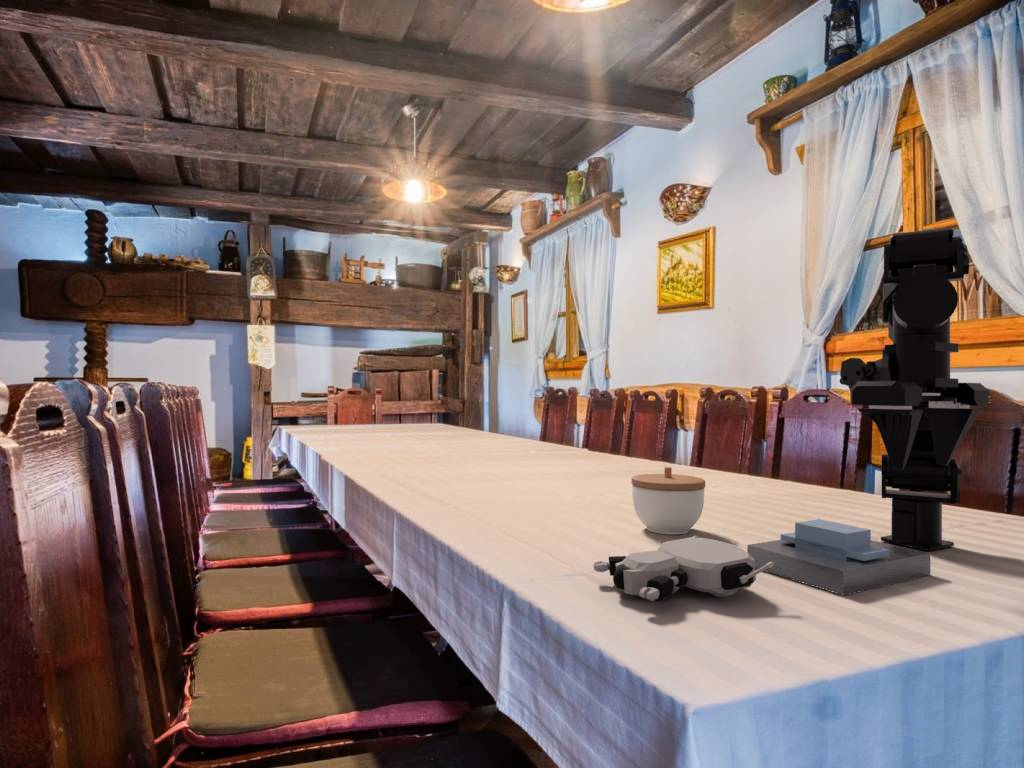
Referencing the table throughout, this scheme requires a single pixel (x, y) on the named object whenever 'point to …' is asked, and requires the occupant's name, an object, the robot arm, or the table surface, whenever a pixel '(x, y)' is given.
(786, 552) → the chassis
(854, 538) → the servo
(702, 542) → the robot toy
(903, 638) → the table surface
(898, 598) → the table surface
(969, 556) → the table surface
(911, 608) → the table surface
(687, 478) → the lidded jar
